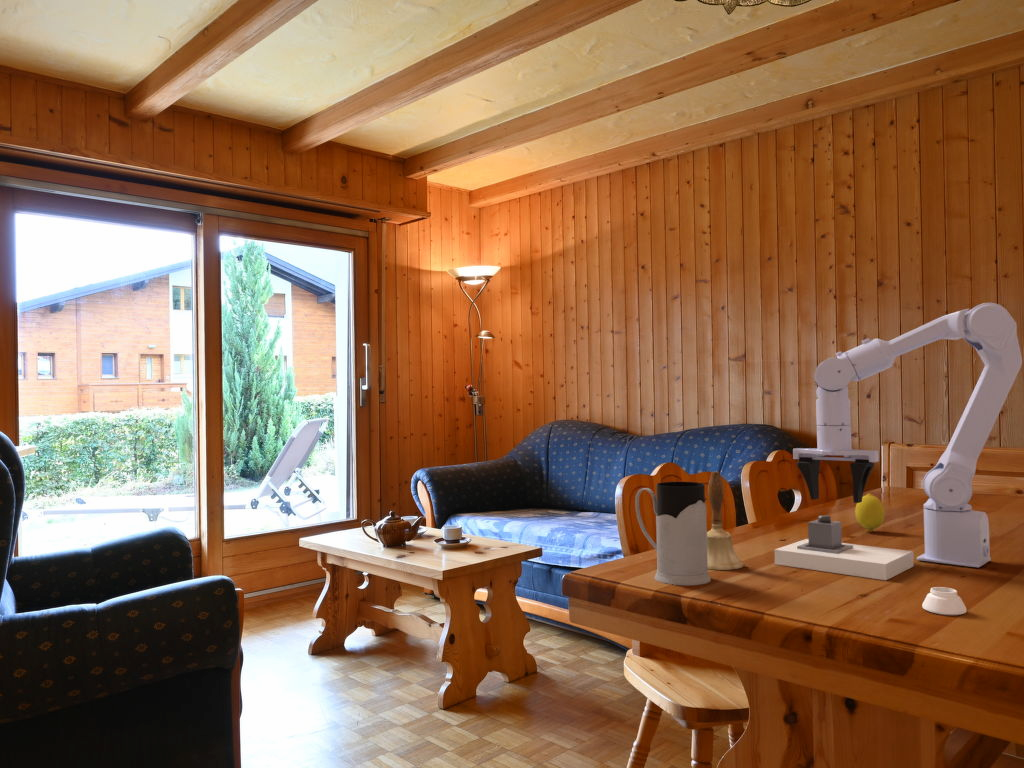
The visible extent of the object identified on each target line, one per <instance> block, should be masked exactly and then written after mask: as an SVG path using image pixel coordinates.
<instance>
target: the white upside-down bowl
mask: <svg viewBox="0 0 1024 768" xmlns="http://www.w3.org/2000/svg"><path fill="white" fill-rule="evenodd" d="M921 607H922V608H923V609H924V610H925V611H927V612H930V613H933V614H935V615H943V616H953V617H954V616H959V615H960V616H961V615H963V614H966V613H967V607H966V604H965V603H964V601H963V600H962V598H961V597H960V596H959V595H958V591H957V590H956V589H954V588H950V587H944V586H935V587H931V588H930V592H929V593H927V594H926V596H925V598H924V600H923V602H922V606H921Z"/></svg>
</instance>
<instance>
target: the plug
mask: <svg viewBox="0 0 1024 768" xmlns="http://www.w3.org/2000/svg"><path fill="white" fill-rule="evenodd" d="M817 518H818V519H815V520H812V521H808V522H807V530H808V531H807V533H808V536H807V537H808V538H807V539H809V547H814V548H822V549H830V550H836V549H838V548H841V547H842V543H843V542H842V540H843V539H842V537H843V536H842V521H836V520H831V519H832V516H831V515H825V514H824V515H821V514H820V515H817Z"/></svg>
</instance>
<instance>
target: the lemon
mask: <svg viewBox="0 0 1024 768" xmlns="http://www.w3.org/2000/svg"><path fill="white" fill-rule="evenodd" d="M855 504H856V505H855V509H854V515H855V518H856V521H857V523H858V524H859V525H860V526H861V527H862V528H864V529H866V530H867V531H868V532H869V533H872V532H874V530H875V529H878V528H879V527H881V526H882V524H883V523H884V520H885V508H884V504H883V502H882V500H880V499H879V498H878V497H877V496H875V495H873V494H872V493H866V495H863V497H862V502H860V503H855Z"/></svg>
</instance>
